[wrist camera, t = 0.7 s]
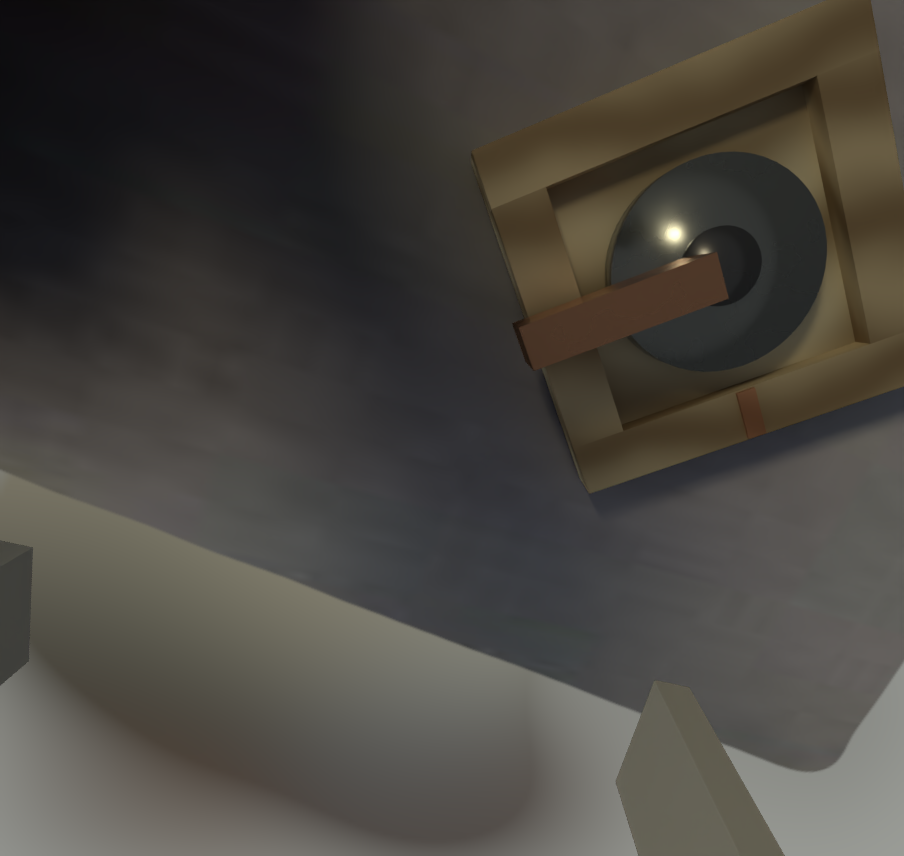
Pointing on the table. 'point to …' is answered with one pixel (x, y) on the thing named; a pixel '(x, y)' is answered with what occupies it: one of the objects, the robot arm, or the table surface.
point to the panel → (662, 149)
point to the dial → (698, 270)
